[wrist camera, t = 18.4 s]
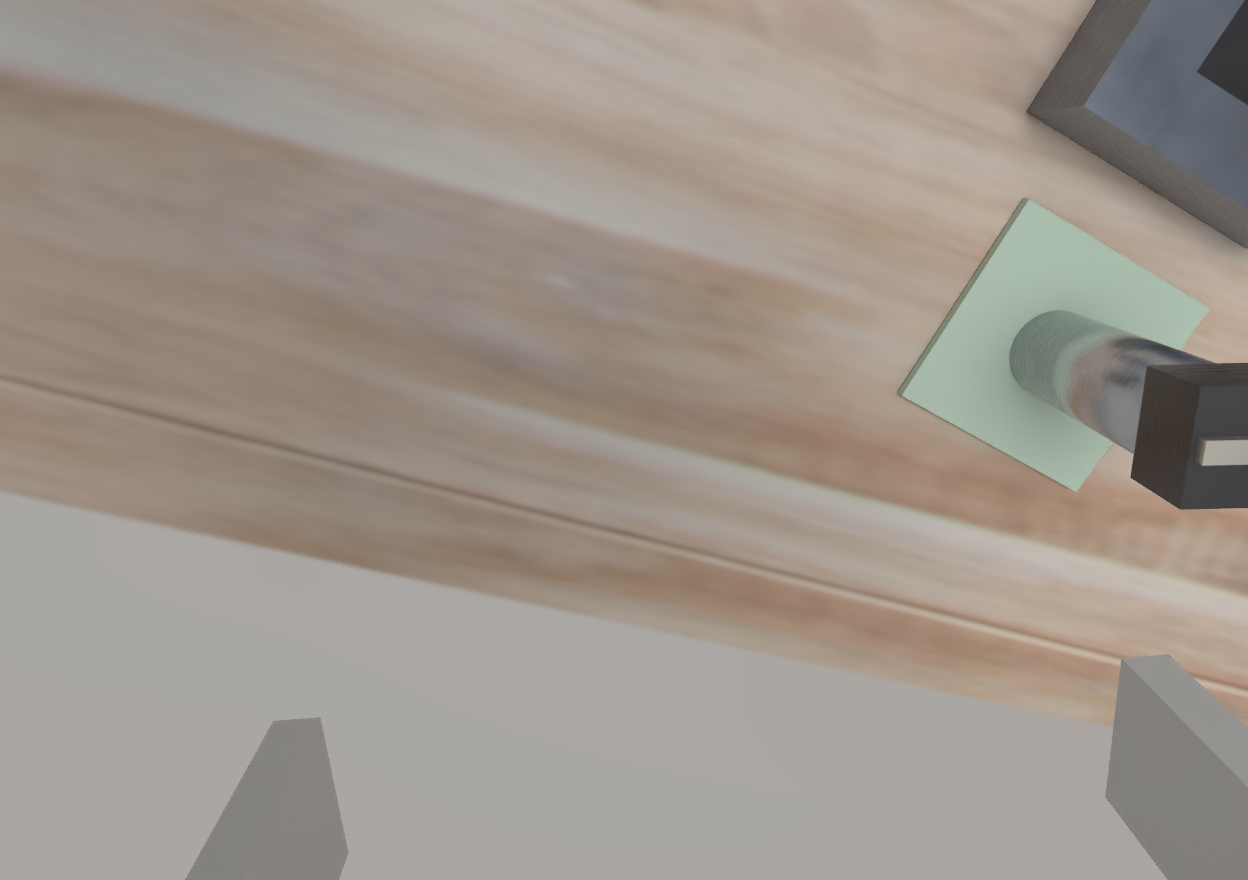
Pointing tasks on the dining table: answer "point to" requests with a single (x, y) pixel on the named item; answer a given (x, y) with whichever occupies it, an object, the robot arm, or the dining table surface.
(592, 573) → the dining table surface
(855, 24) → the dining table surface
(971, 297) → the pad
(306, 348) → the dining table surface
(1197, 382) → the grey piece
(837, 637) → the dining table surface
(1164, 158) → the block
